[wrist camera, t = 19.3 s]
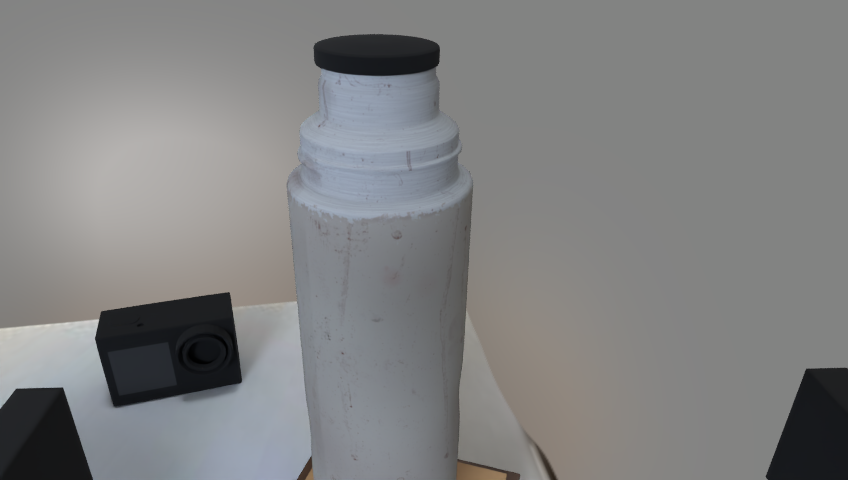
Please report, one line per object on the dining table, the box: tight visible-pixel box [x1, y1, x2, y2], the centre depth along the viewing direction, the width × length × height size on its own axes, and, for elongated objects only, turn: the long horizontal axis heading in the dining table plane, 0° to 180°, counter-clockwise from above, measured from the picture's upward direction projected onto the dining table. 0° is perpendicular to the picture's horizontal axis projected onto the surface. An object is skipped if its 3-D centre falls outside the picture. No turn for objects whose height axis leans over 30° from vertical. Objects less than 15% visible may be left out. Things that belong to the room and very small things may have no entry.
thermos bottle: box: [287, 34, 473, 480], centre depth 30 cm, size 8×8×28 cm
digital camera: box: [95, 292, 242, 406], centre depth 52 cm, size 10×5×7 cm, turn 109°
